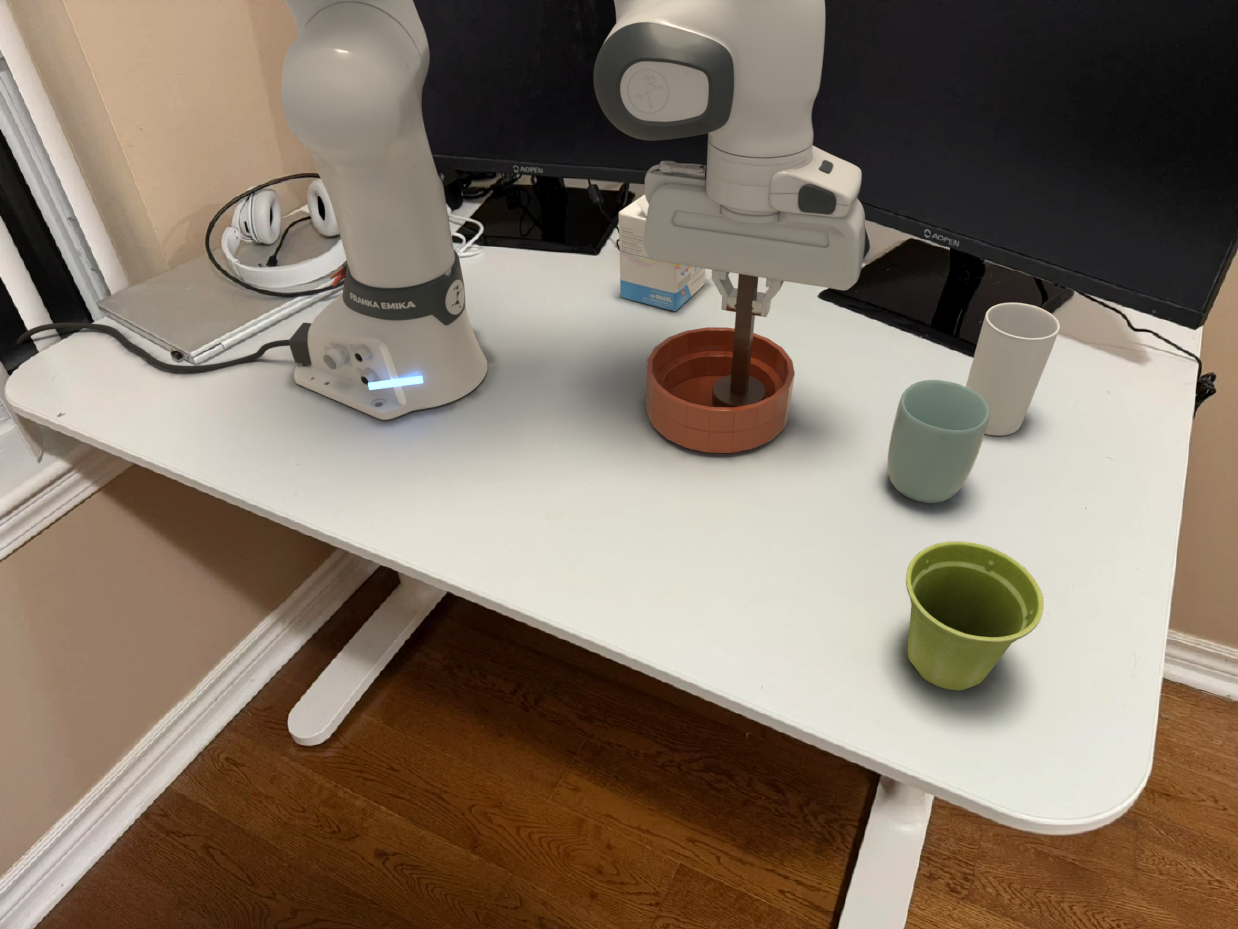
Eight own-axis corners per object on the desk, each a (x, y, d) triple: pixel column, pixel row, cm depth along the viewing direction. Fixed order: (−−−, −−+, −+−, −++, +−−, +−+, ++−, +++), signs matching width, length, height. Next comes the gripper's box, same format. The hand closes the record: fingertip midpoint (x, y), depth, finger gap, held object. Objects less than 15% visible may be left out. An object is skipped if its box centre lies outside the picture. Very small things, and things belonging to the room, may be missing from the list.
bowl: (626, 439, 88) (625, 393, 85) (672, 361, 99) (673, 317, 95) (769, 471, 84) (775, 423, 80) (800, 386, 95) (807, 341, 91)
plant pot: (1007, 727, 62) (1043, 657, 56) (876, 689, 65) (898, 617, 59) (1012, 631, 69) (1045, 559, 63) (893, 600, 71) (915, 528, 66)
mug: (1013, 446, 86) (1049, 346, 78) (947, 424, 89) (976, 325, 81) (1039, 396, 92) (1075, 300, 84) (977, 377, 95) (1006, 282, 87)
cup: (972, 476, 83) (1000, 394, 76) (952, 525, 78) (979, 442, 71) (893, 451, 86) (914, 370, 79) (869, 497, 81) (888, 415, 74)
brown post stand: (705, 411, 89) (713, 258, 77) (720, 381, 92) (729, 232, 81) (757, 422, 87) (773, 267, 75) (770, 391, 91) (787, 240, 79)
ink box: (675, 313, 107) (677, 213, 98) (618, 297, 111) (616, 199, 102) (706, 284, 113) (710, 186, 104) (651, 269, 116) (651, 174, 107)
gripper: (632, 171, 74) (634, 309, 83) (869, 201, 68) (844, 346, 77) (656, 145, 78) (655, 279, 88) (880, 171, 73) (855, 312, 82)
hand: (745, 310), depth 82 cm, fingers closed on brown post stand
